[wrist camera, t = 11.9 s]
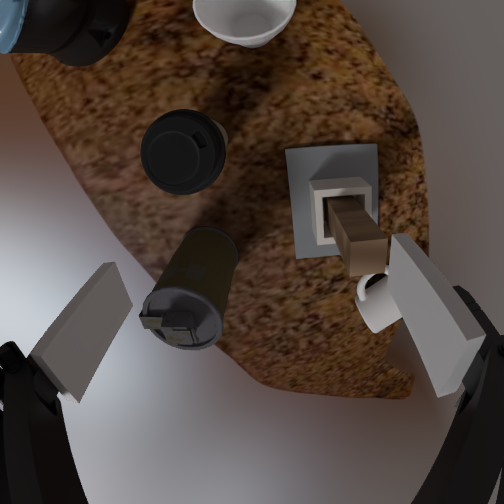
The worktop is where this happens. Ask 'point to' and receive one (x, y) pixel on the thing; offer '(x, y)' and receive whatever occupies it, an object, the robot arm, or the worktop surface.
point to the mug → (376, 303)
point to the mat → (325, 167)
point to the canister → (192, 291)
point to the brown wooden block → (356, 236)
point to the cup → (244, 19)
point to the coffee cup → (184, 151)
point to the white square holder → (335, 188)
